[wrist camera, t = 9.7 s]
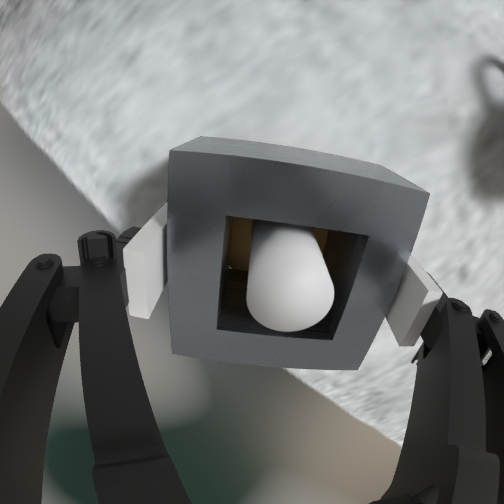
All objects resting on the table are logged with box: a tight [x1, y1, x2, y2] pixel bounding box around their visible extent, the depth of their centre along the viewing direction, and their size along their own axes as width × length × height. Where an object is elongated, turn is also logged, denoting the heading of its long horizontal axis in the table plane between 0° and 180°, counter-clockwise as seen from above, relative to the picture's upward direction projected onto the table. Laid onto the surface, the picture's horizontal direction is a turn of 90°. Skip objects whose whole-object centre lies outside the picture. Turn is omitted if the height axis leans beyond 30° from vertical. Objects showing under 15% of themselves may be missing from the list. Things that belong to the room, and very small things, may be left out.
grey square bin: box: [167, 136, 430, 370], centre depth 13 cm, size 9×9×5 cm
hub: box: [229, 217, 334, 332], centre depth 13 cm, size 7×7×8 cm
